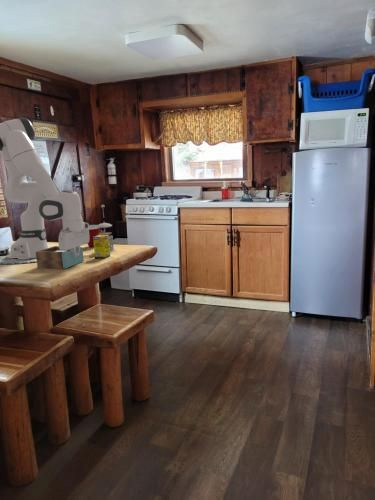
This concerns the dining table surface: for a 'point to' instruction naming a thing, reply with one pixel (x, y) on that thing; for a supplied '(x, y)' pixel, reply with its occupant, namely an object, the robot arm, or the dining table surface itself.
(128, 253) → the dining table surface
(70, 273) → the dining table surface
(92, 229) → the plastic cup
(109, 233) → the french press
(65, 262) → the tray
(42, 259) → the brown wooden crate
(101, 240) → the yellow cylinder
